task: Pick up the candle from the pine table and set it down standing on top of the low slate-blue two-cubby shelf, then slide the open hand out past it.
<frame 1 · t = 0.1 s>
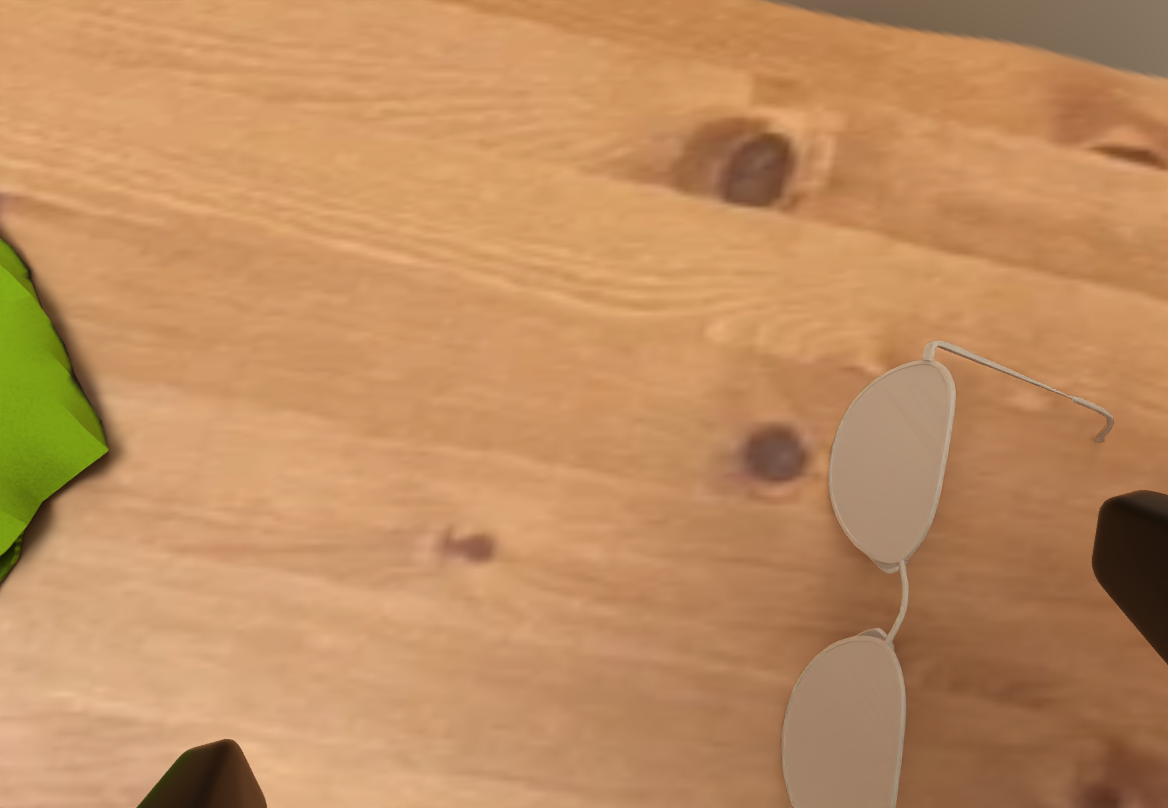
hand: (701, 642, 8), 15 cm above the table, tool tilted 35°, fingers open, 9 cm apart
sunglasses: (940, 614, 23), on the table
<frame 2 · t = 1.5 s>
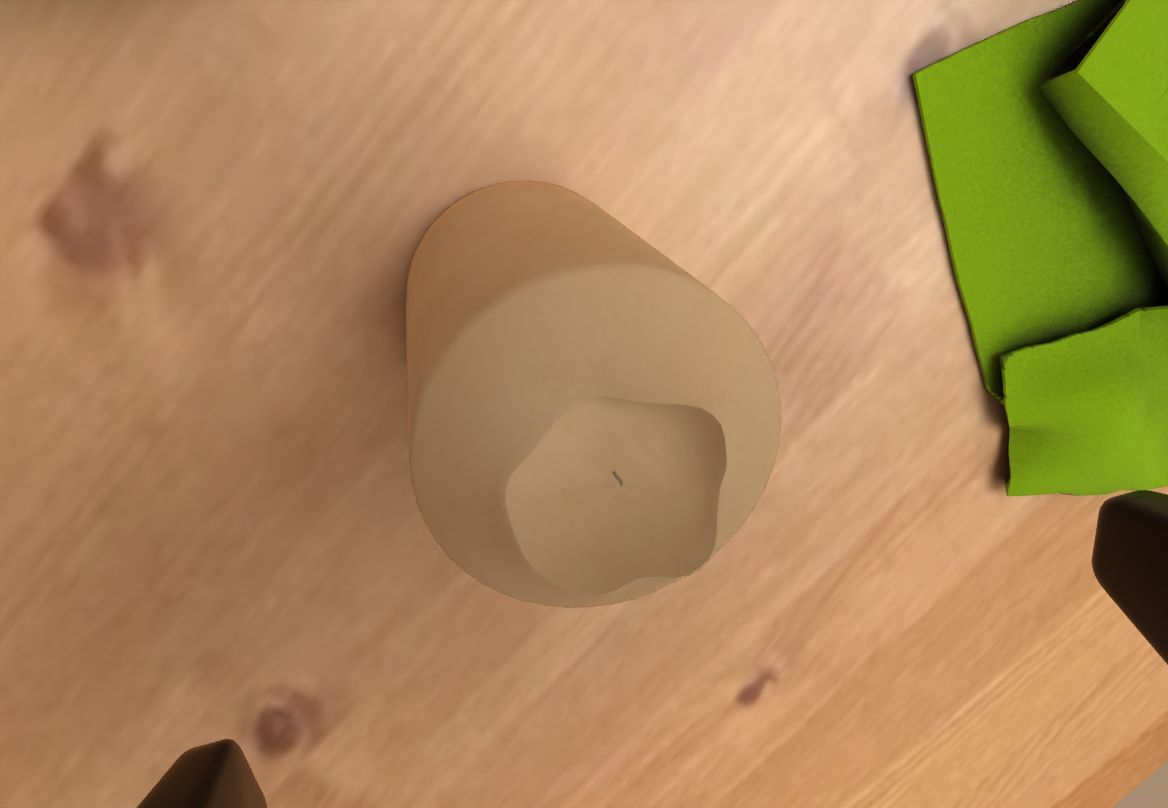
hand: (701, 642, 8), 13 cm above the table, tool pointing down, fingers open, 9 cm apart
candle: (521, 292, 19), on the table
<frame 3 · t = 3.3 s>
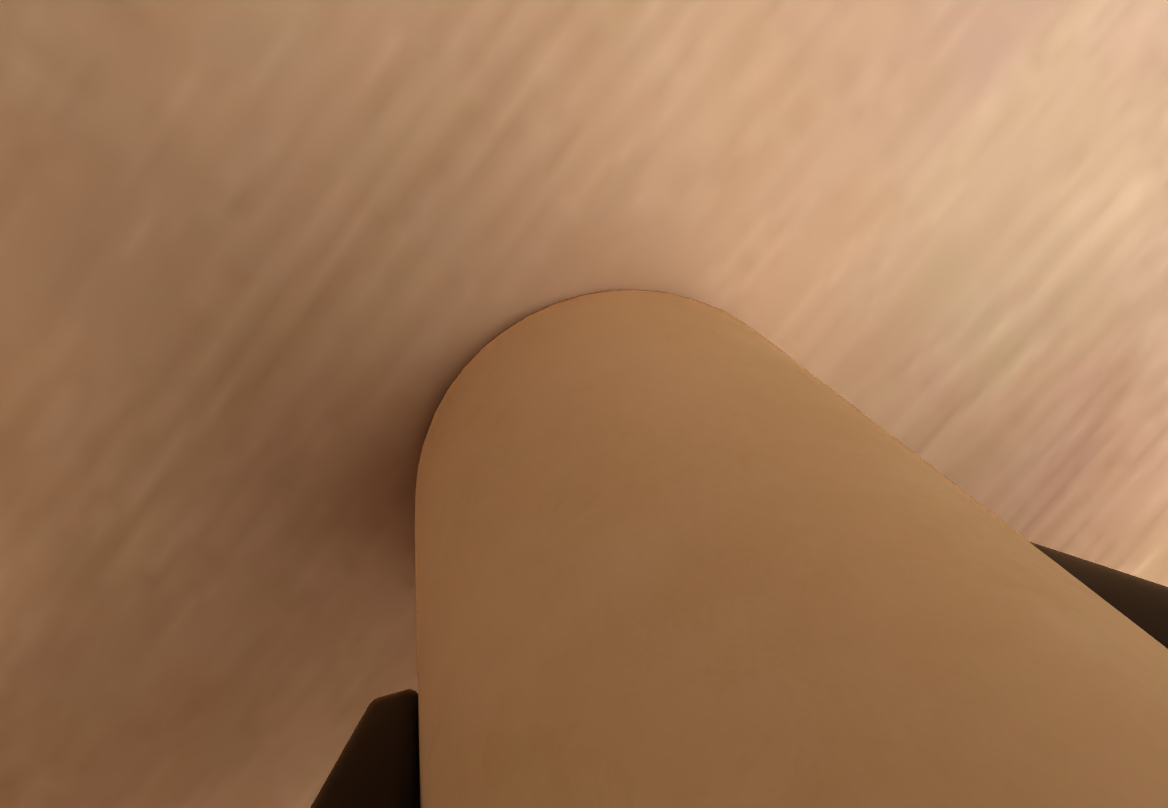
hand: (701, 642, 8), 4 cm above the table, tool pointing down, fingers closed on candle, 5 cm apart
candle: (611, 468, 11), on the table, touching gripper
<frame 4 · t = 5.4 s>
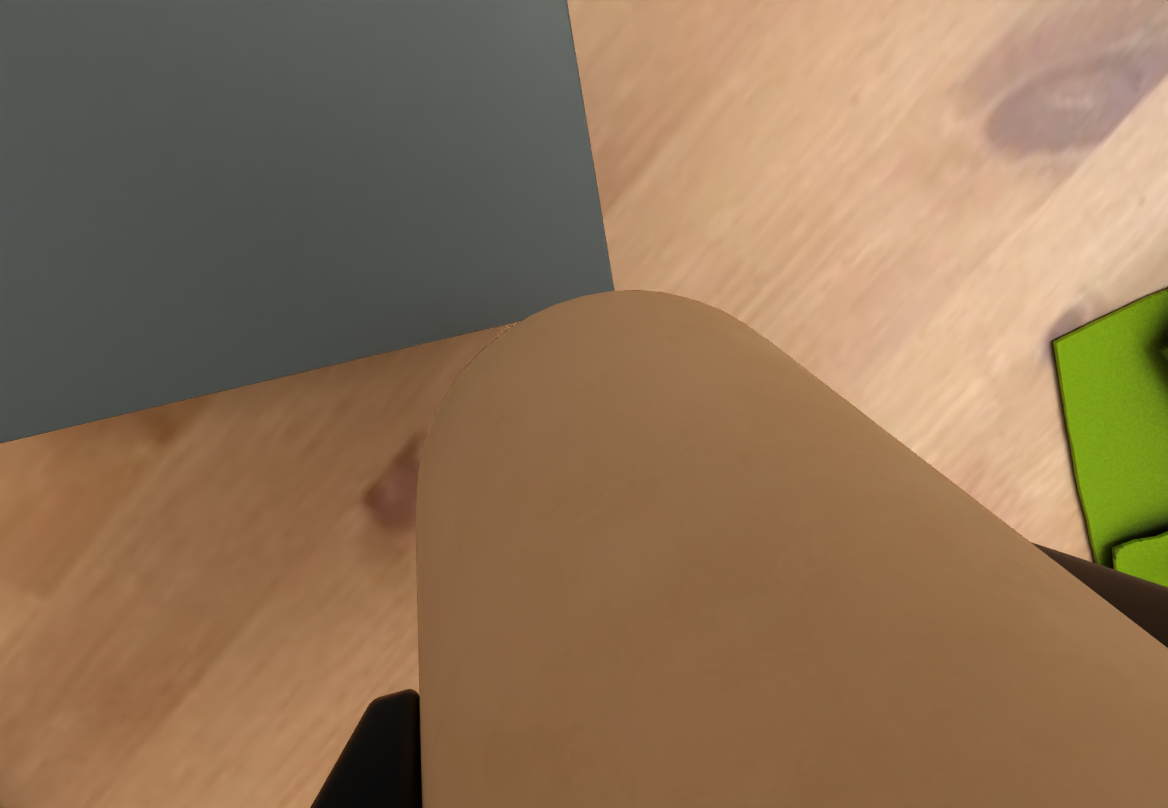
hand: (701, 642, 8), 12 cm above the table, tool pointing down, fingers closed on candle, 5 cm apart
candle: (612, 468, 11), point 9 cm above the table, touching gripper
when the fingers open (8 cm above the table, at t = 7.9 s): candle stays where it is, resting on shelf.
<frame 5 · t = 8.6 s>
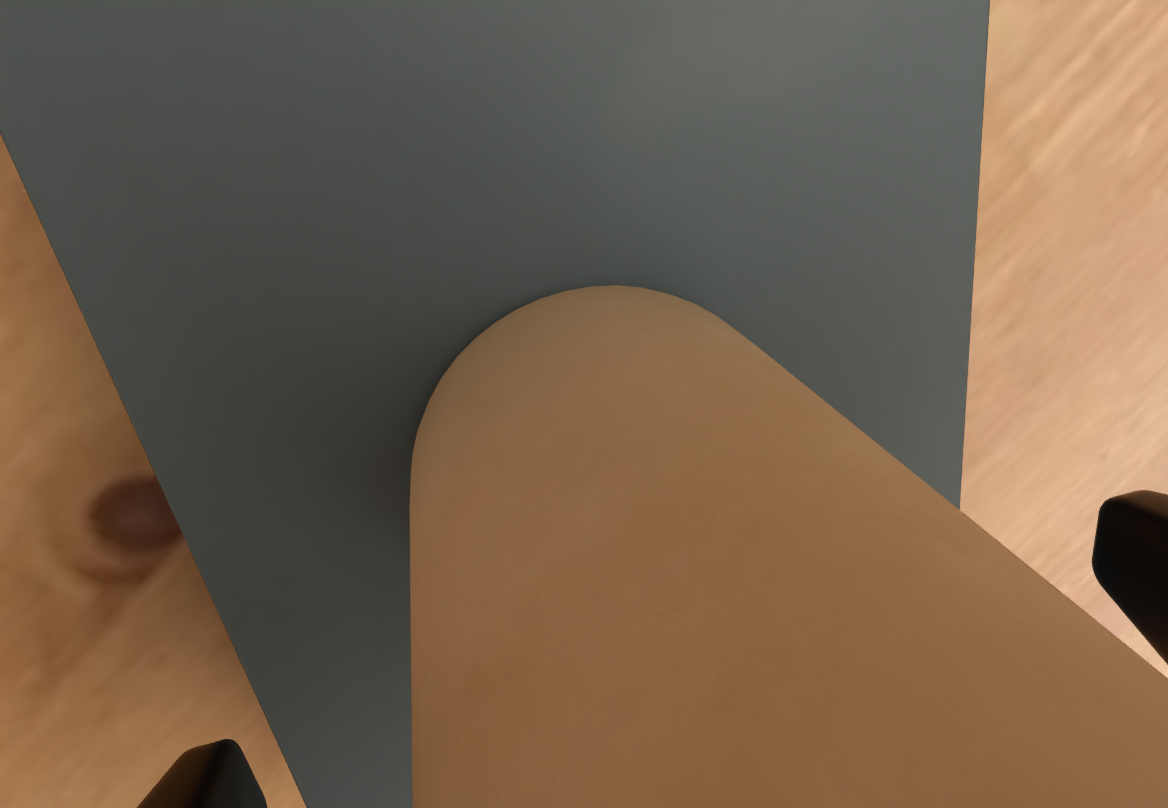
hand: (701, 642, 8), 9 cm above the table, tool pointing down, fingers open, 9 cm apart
shelf: (553, 353, 16), on the table
candle: (595, 454, 12), point 4 cm above the table, touching shelf
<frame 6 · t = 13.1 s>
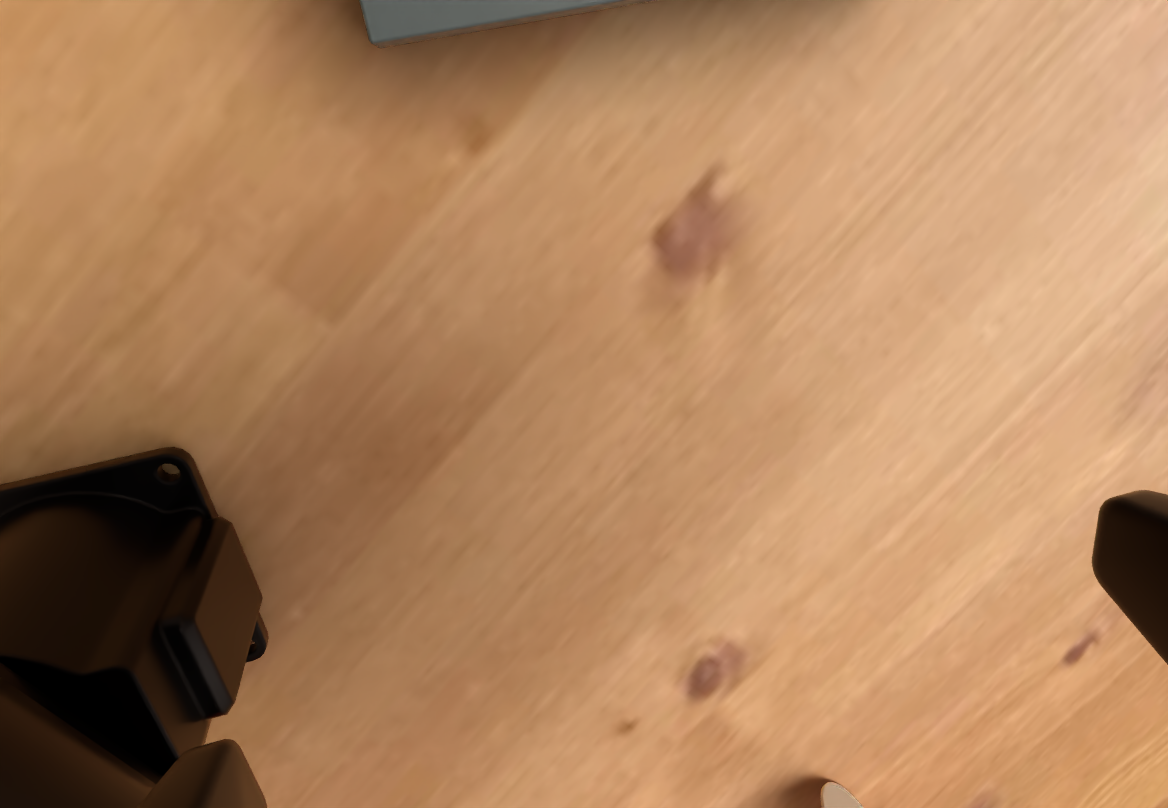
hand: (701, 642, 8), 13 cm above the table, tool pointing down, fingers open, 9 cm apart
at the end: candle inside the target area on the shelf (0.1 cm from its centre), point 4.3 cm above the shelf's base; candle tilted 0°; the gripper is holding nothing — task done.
